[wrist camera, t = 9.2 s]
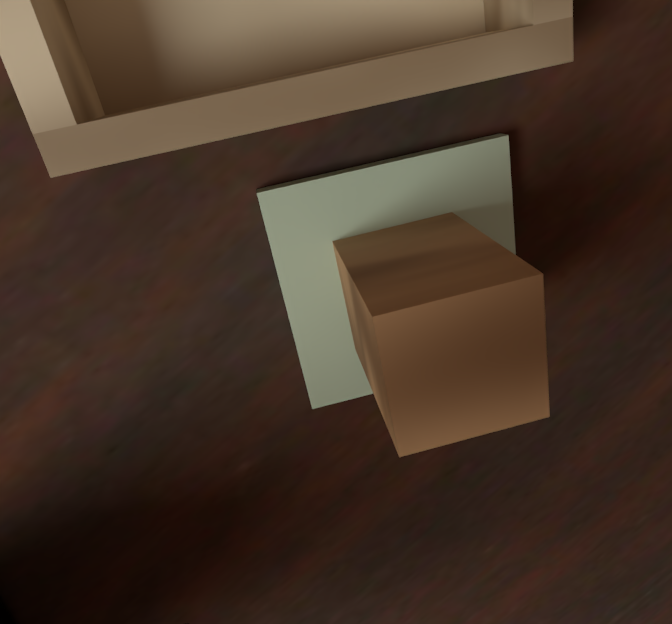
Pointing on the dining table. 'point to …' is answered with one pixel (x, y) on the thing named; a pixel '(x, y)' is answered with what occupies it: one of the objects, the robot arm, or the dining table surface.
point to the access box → (248, 64)
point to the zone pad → (362, 217)
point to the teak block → (445, 330)
